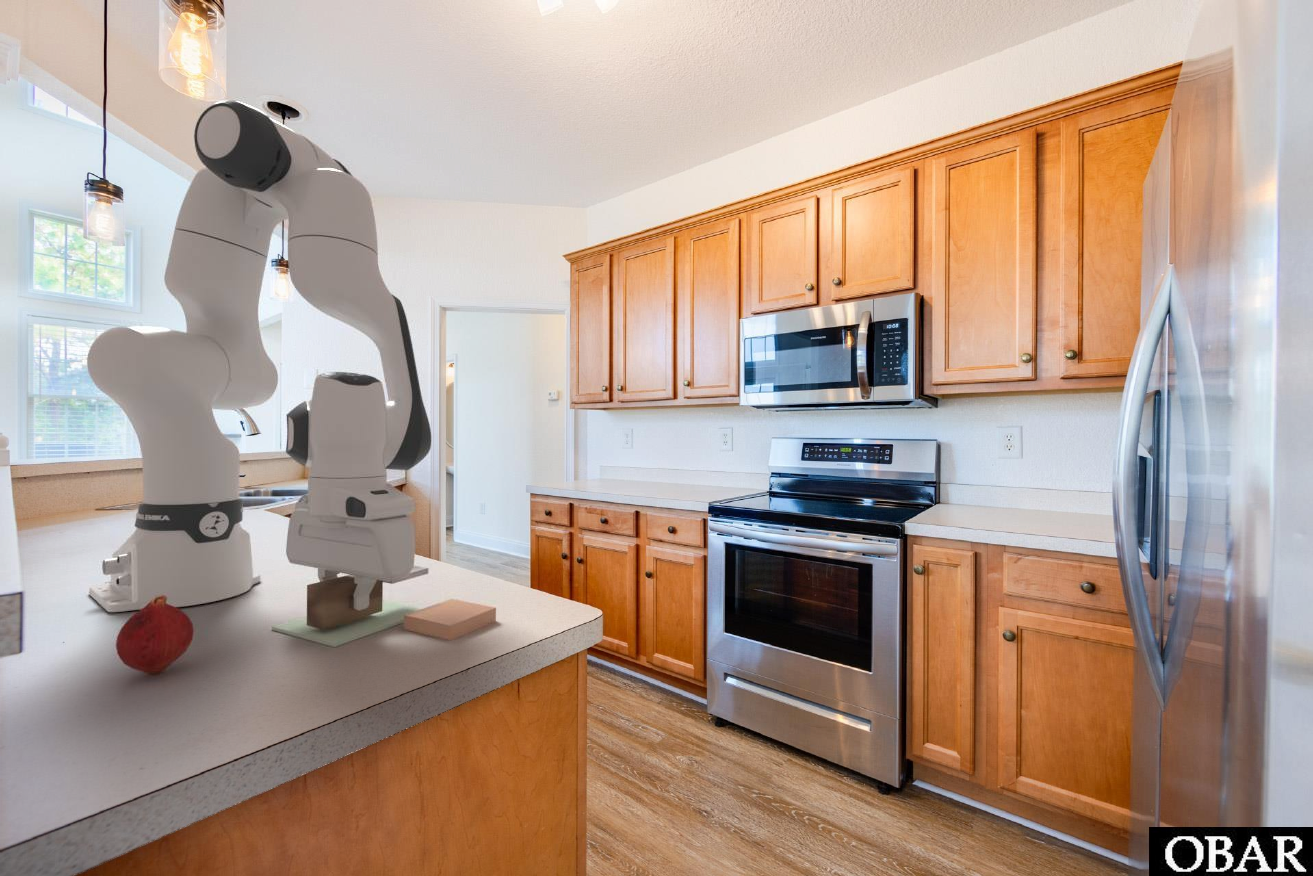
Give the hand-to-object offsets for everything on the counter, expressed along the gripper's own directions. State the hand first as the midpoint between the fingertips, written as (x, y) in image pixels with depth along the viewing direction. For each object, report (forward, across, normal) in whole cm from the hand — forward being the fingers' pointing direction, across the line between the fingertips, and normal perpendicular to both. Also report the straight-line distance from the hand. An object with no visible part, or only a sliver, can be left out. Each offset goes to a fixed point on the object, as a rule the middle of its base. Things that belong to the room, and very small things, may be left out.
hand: (346, 605), depth 71 cm
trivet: (+3, -1, +2) cm, 3 cm away
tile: (+2, +11, +3) cm, 12 cm away
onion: (+3, -4, -18) cm, 19 cm away
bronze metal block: (+2, 0, +3) cm, 3 cm away
